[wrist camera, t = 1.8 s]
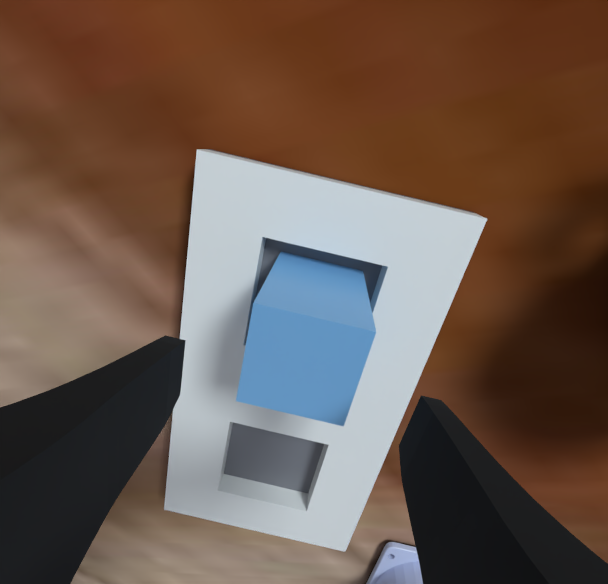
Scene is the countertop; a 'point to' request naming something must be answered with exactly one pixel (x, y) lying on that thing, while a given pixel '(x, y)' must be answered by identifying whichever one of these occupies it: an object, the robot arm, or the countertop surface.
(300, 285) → the plug
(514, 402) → the countertop surface
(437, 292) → the panel
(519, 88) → the countertop surface
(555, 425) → the countertop surface
